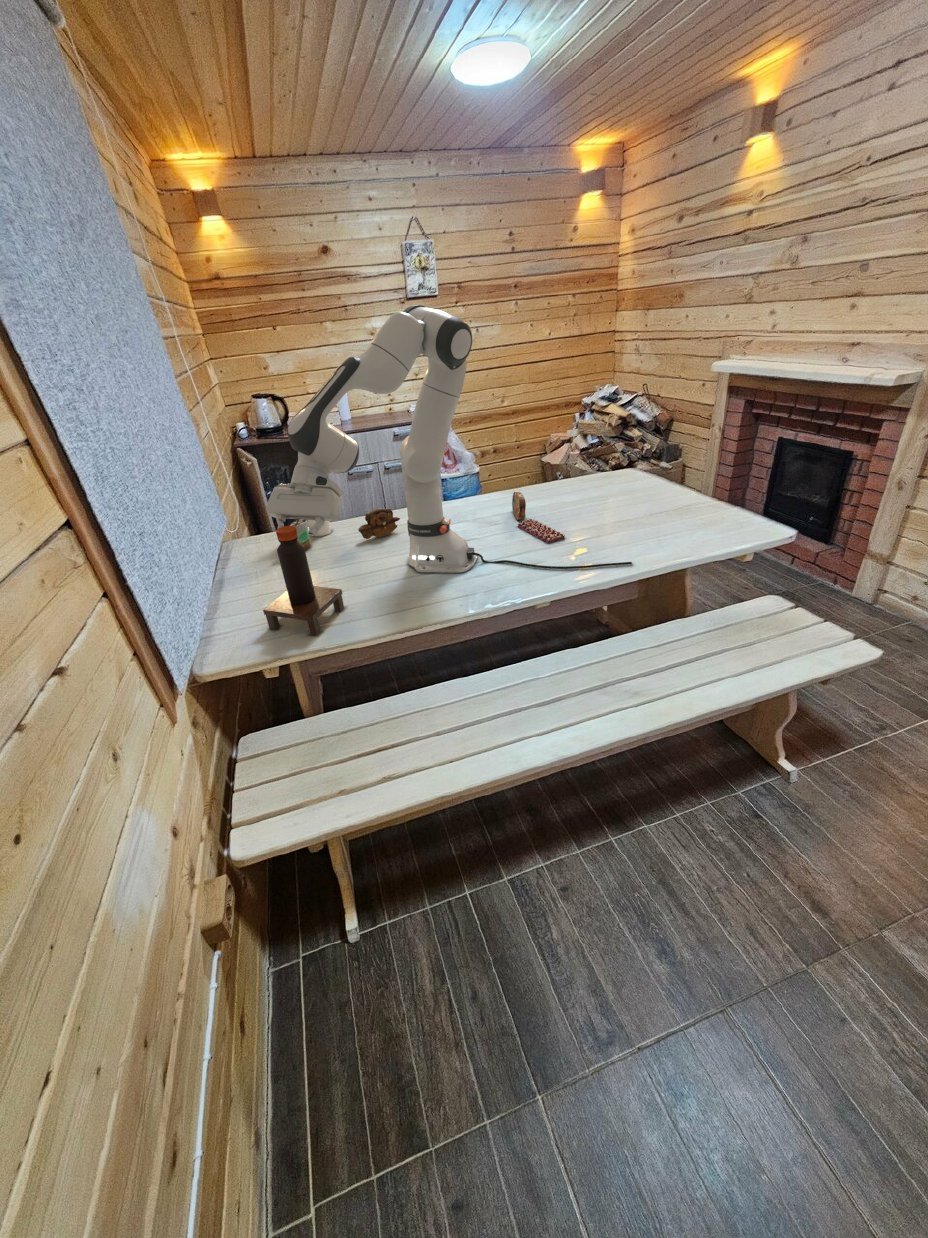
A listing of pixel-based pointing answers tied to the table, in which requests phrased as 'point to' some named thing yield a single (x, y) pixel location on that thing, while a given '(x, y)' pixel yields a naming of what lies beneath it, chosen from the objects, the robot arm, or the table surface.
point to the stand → (304, 608)
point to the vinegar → (294, 566)
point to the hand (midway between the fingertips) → (296, 533)
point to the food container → (302, 532)
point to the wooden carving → (378, 523)
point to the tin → (518, 505)
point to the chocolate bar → (541, 531)
